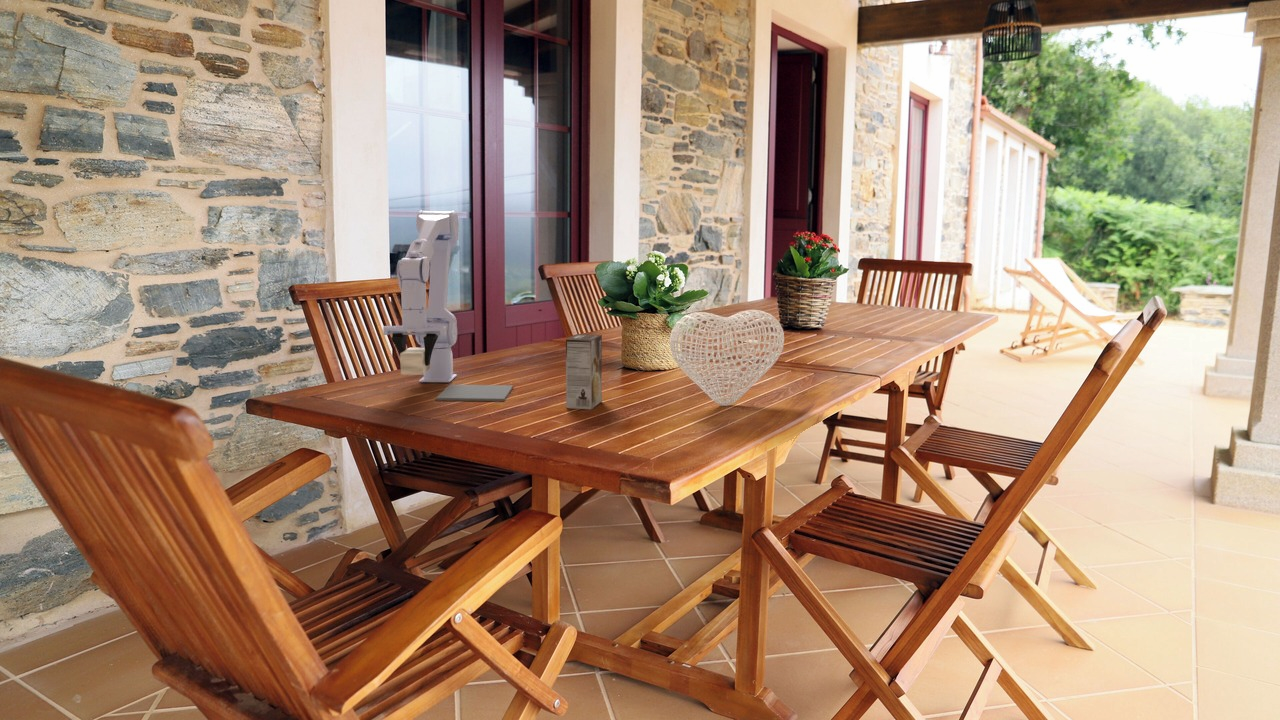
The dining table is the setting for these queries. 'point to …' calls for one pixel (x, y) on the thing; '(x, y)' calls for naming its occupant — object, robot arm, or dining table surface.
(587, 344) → the coffee box
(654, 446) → the dining table surface
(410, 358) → the pale wooden block
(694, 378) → the heart
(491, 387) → the rubber mat
